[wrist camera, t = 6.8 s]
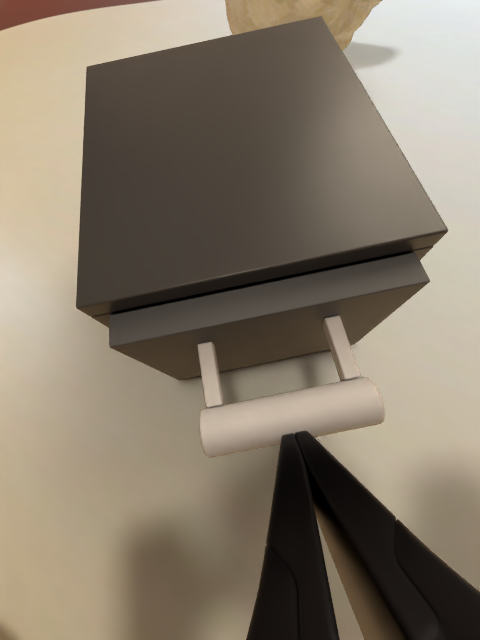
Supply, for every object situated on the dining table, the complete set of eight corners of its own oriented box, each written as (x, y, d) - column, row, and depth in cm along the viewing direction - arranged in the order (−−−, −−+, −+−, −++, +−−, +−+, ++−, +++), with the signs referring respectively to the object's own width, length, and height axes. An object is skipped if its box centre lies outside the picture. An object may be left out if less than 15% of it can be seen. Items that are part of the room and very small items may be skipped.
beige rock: (207, 89, 31) (261, 11, 18) (202, -1, 28) (264, -173, 15) (319, 102, 35) (425, 47, 23) (326, 26, 32) (453, -87, 19)
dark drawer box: (352, 328, 17) (450, 230, 8) (171, 365, 17) (74, 308, 8) (298, 178, 22) (321, 14, 13) (157, 208, 22) (85, 65, 13)
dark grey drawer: (379, 413, 15) (495, 406, 7) (185, 452, 15) (109, 484, 7) (299, 191, 20) (319, 66, 13) (162, 220, 21) (107, 111, 13)
